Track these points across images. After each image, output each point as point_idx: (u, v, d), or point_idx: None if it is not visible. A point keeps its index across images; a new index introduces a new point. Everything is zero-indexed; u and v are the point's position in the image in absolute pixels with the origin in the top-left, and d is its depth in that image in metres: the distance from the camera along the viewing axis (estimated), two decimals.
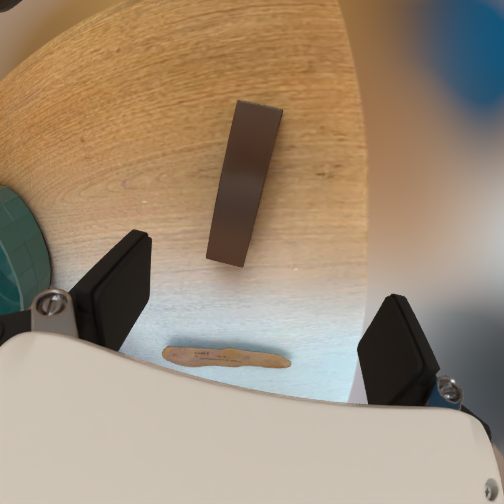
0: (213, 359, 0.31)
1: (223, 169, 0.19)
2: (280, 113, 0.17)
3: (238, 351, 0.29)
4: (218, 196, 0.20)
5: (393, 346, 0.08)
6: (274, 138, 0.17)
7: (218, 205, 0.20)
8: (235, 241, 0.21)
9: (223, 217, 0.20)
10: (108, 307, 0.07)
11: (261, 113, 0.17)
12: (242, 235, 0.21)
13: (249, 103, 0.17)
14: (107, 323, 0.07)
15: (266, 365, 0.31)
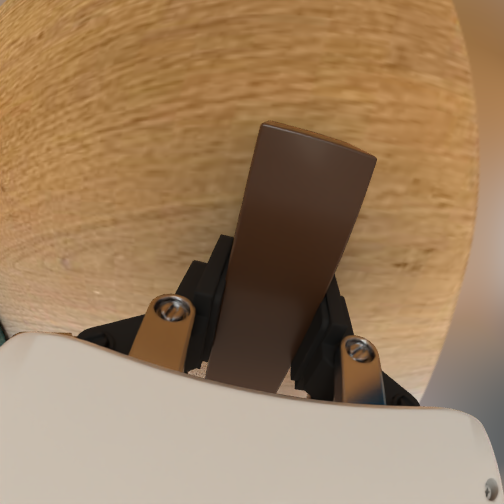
0: None
1: (226, 290, 0.09)
2: (371, 166, 0.06)
3: None
4: (217, 335, 0.09)
5: None
6: (350, 228, 0.07)
7: (217, 348, 0.10)
8: None
9: (229, 365, 0.10)
10: (219, 309, 0.08)
11: (324, 163, 0.07)
12: (262, 387, 0.11)
13: (293, 134, 0.06)
14: (215, 324, 0.08)
15: None
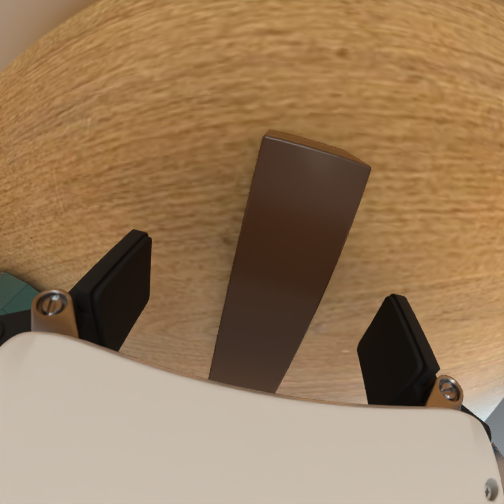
0: None
1: (230, 290, 0.09)
2: (366, 175, 0.07)
3: None
4: (221, 334, 0.10)
5: (393, 346, 0.08)
6: (346, 233, 0.08)
7: (221, 346, 0.10)
8: None
9: (232, 362, 0.11)
10: (108, 307, 0.07)
11: (321, 173, 0.07)
12: (264, 384, 0.11)
13: (293, 145, 0.07)
14: (107, 323, 0.07)
15: None
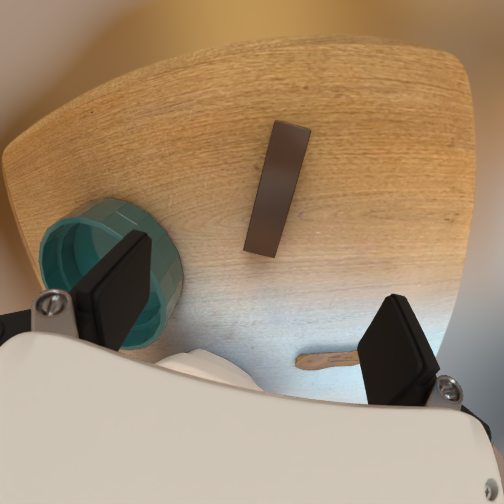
0: (340, 361, 0.36)
1: (262, 176, 0.23)
2: (309, 133, 0.21)
3: None
4: (257, 198, 0.24)
5: (393, 346, 0.08)
6: (304, 153, 0.22)
7: (256, 206, 0.24)
8: (269, 235, 0.26)
9: (260, 216, 0.25)
10: (108, 307, 0.07)
11: (294, 132, 0.21)
12: (275, 230, 0.25)
13: (284, 123, 0.21)
14: (107, 323, 0.07)
15: None
